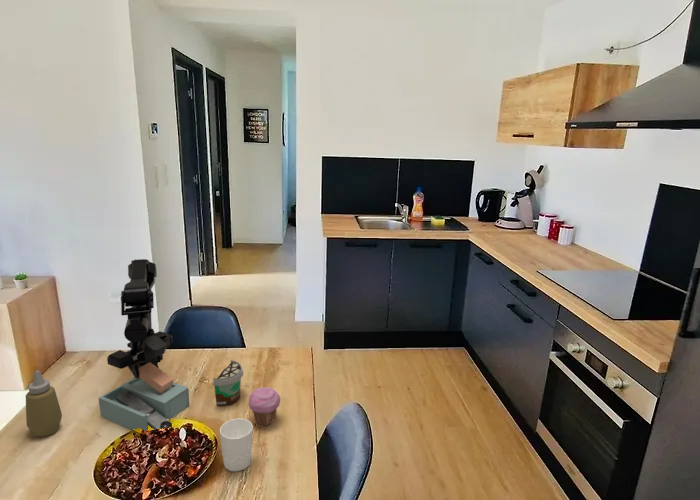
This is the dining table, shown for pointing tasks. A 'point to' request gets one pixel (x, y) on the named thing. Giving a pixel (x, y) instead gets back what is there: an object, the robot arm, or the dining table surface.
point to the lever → (143, 410)
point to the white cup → (236, 444)
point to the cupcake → (264, 404)
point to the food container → (228, 385)
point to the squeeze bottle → (42, 407)
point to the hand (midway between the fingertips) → (143, 374)
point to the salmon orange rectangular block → (155, 377)
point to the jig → (163, 402)
